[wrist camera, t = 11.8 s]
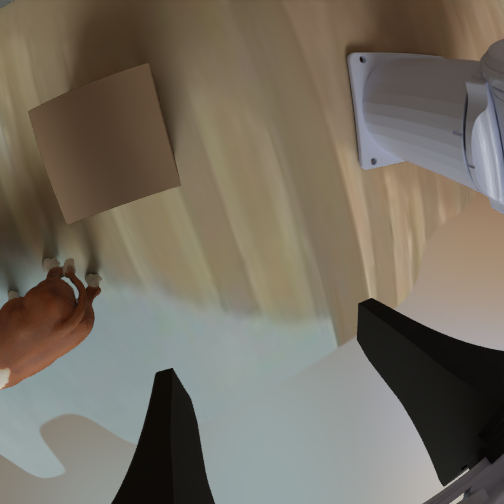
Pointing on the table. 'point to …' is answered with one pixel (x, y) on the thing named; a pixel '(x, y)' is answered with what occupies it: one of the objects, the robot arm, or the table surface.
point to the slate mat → (4, 2)
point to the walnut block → (105, 143)
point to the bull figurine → (45, 322)
